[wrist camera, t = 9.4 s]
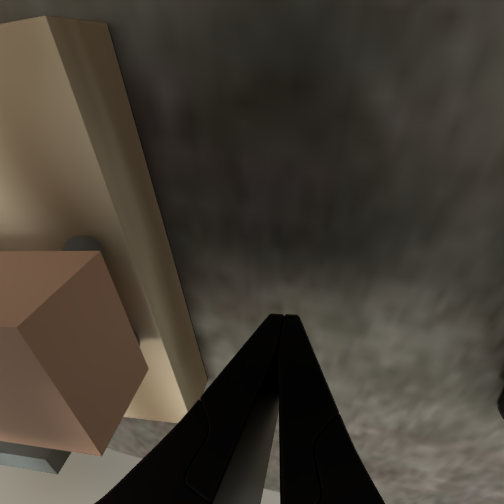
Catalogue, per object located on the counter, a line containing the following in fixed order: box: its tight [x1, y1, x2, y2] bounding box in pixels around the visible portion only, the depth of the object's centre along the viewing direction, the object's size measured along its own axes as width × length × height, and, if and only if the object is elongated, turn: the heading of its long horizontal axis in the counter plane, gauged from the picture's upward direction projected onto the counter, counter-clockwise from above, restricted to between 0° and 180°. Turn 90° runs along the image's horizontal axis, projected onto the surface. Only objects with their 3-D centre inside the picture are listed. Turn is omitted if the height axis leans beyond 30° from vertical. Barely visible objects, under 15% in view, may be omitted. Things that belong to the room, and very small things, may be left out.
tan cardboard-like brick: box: [0, 235, 149, 456], centre depth 10 cm, size 7×5×4 cm
